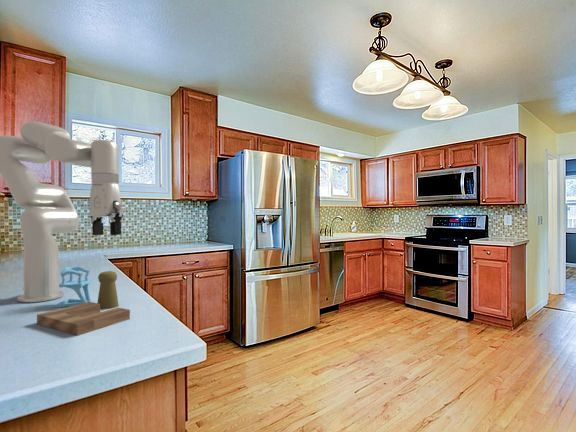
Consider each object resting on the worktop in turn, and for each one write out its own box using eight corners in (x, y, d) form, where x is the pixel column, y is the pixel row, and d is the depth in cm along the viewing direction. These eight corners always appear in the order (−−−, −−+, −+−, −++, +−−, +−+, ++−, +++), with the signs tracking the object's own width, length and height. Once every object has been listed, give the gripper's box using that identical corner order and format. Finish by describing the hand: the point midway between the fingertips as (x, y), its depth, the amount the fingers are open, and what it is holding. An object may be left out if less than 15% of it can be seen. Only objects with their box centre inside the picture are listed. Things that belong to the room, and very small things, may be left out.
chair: (83, 307, 101) (84, 268, 101) (54, 307, 100) (54, 269, 100) (94, 300, 109) (94, 265, 109) (67, 301, 107) (67, 265, 107)
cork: (108, 309, 98) (109, 273, 98) (91, 308, 99) (91, 272, 99) (122, 304, 104) (122, 270, 104) (106, 303, 105) (106, 269, 105)
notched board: (36, 323, 85) (36, 314, 85) (89, 310, 98) (89, 301, 98) (77, 335, 77) (77, 325, 77) (129, 318, 89) (129, 309, 89)
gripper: (78, 182, 103) (79, 235, 102) (109, 176, 94) (110, 235, 93) (102, 183, 109) (103, 234, 109) (133, 179, 100) (134, 234, 100)
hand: (106, 235), depth 101 cm, fingers open, 9 cm apart
